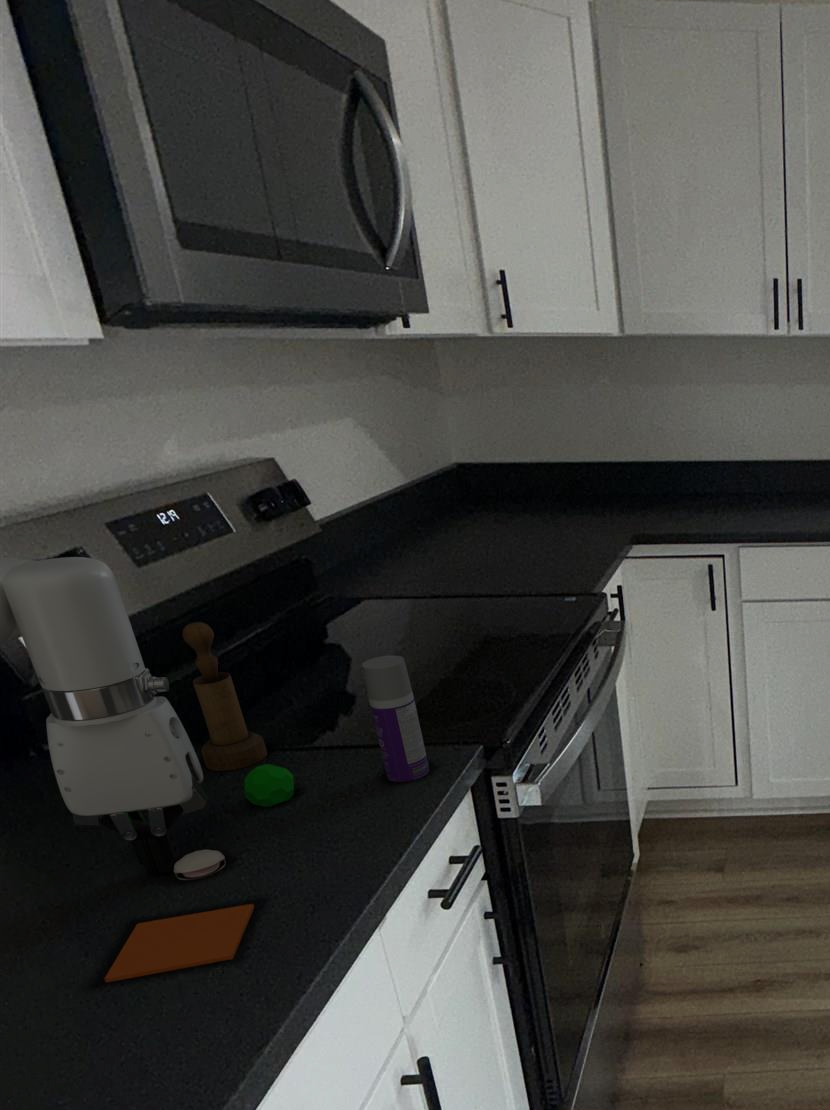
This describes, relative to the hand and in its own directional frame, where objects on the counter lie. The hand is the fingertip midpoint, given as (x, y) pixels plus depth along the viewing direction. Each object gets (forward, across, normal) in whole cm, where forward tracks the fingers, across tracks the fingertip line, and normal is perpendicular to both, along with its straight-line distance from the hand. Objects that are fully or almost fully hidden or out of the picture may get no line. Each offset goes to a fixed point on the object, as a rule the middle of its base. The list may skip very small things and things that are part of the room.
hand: (162, 866), depth 92 cm
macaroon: (+1, -3, 0) cm, 4 cm away
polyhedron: (+1, -7, -14) cm, 15 cm away
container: (+1, -21, -16) cm, 26 cm away
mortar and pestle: (+2, 0, -28) cm, 29 cm away
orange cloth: (+1, -5, +14) cm, 15 cm away
